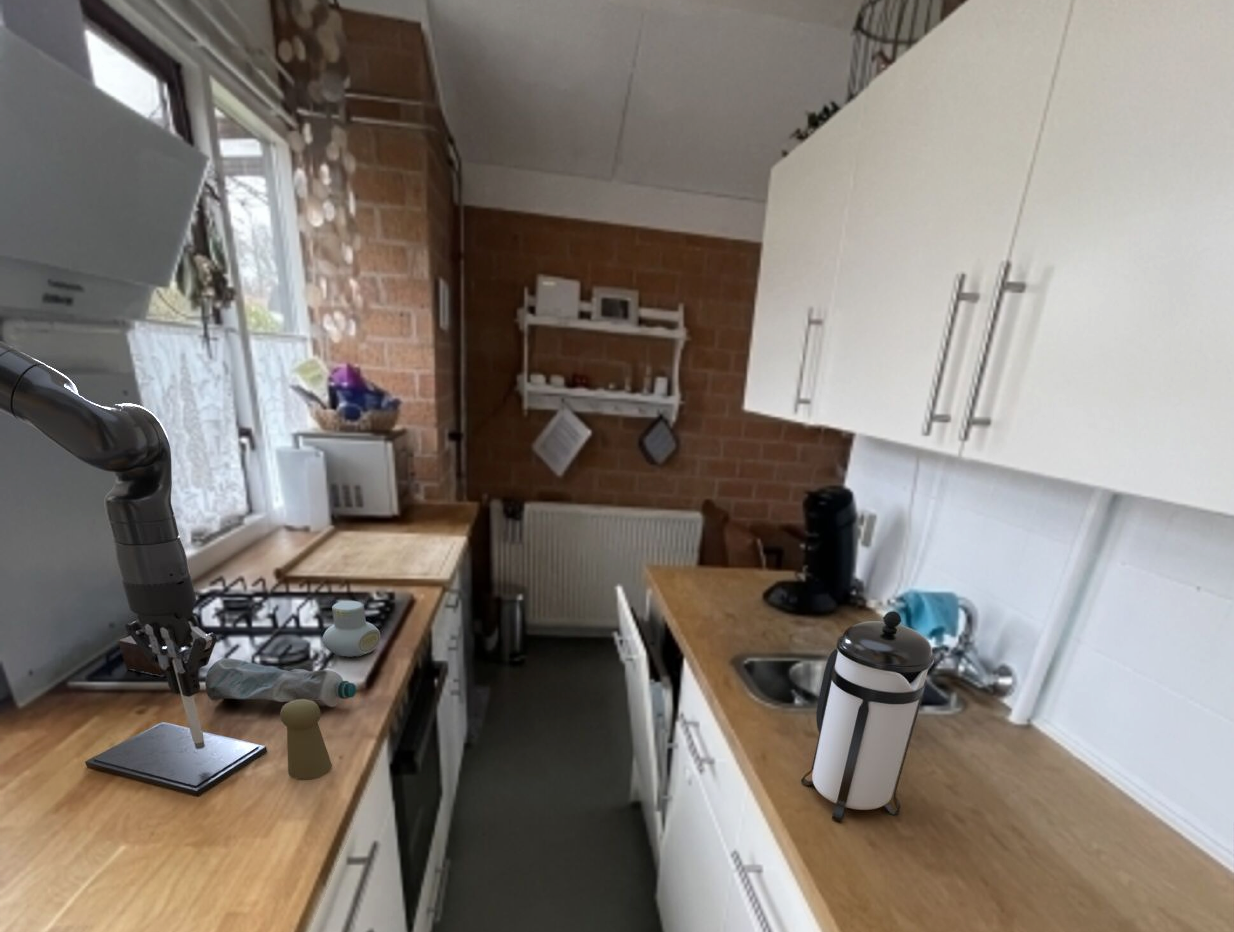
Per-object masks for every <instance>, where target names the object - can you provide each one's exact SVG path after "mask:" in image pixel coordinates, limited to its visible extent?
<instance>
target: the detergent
mask: <svg viewBox="0 0 1234 932" xmlns="http://www.w3.org/2000/svg"><path fill="white" fill-rule="evenodd" d="M204 685H205V691H206V694H207V697H208V698H209V700H211V701H219V700H225V699H228V700H229V699H230V700H245V701H246V700H269V701H274V702H278V703H285V702H286V703H288V702H290V701H293V700H298V699H307V700H311V701H315V700H317V701H319V702H321V703H323V704H324V705H325V706H326V707H329V708H335V707H336V706H337V705H338V704H339V702H340V700H341V699H343V700H346V699H349V698H353V697H355V696H356V693H357V688H356V684H355V683H354V682H350V681H349V680H344V679H343V677H342V676H341V675H340V673H338V672H336V671H334V670H330V669H321V670H315V671H314V670H313V671H311V670H306V669H300V668H293V669H291V670H285V669H281V668H276V667H271V666H267V665H262V664H257V663H255V662H249V661H246V660H242V659H238V658H237V659H236V658H230V657H229V658H227V657H226V658H222V659H219V660H216V661H215V662H214V663H213V664H212V665H211V666H210V668H209V669H208V670H207V672H206V674H205V679H204Z"/></svg>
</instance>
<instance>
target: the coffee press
mask: <svg viewBox="0 0 1234 932" xmlns="http://www.w3.org/2000/svg"><path fill="white" fill-rule="evenodd" d="M882 620H883V621H879V620H872V621H871V620H870V621H869V620H868V621H862V622H858V623H855V624H852V625H850V626H849V627H848V628H846V630H844V632H843V633H842V634H841V635H839V637H838V638H837V640H836V648H835V649H833V650H832V652H831V653H830V654H829V656H828V657H827V659H826V660H827V661H826V664H825V667H824V670H823V676H822V681H821V685H820V689H819V695H818V700H817V705H816V716H815V717H816V718H815V719H816V727H817V731H818V737H817V742H816V745H815V746H816V747H815V751H814V757H813V761H812V765H811V769H810V770H808V772H806V773H805V774H804V775H803V776H802V778H801V781H800V783H801V784H802V785H803V786H805V787H809V786H812V785H813V786H814V787H815V790H816V791H817V792H818V793H819V794H820V795H821V796H822V797H823V798H825V799H826V800H828V801H829V802H831V803H833V804H835V806H834V809H833V811H832V815H831V819H832V820H834V821H837V822H840V823H841V822H842V821H843V819H844V816H845V813H846V811H847V809H852V810H859V811H862V810H863V811H869V810H875V809H878V808H882V807H884V808H885V809H886V811H887V812H888V813H889V814H890V815H892V816H897V815H899V813H900V811H901V808H902V807H901V803H900V802H899V800H898V798H897V791H898V786H899V783H900V780H901V775H902V772H903V768H904V764H905V762H906V758H907V754H908V750H909V746H910V743H911V739H912V736H913V732H914V729H915V725H916V722H917V719H918V715H919V711H920V708H921V704H922V700H923V697H924V692H925V690H926V685H927V679H926V678H927V675H928V672H929V669H930V668H931V667H932V666H933V664H934V662H935V654H934V652H933V649H932V645H931V643H930V642H929V640H928V639H927V637H925V636H924V635H923V634H922V633H920V632H919V631H917V630H915V629H913V628H910V627H909V626H905V625H902V624H901V623H902V617H901V614H900V613H899V612H897V611H895V610H891V611H887V612H886V613H885V614H884V616H883V617H882ZM811 773H812V776H811V780H810V781H809V780H807V779H806V777H808V776H809V775H810V774H811ZM892 799H893V804H894V806H895V808H896V809H893V808H892V806H891V805H890V804H889V802H890V801H891V800H892Z"/></svg>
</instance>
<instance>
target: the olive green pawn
mask: <svg viewBox="0 0 1234 932" xmlns="http://www.w3.org/2000/svg"><path fill="white" fill-rule="evenodd" d="M279 715H280V716H279V717H280V720H281V722H282V724H283V725H284V726H285V727H286V748H287V749H286V750H287V773H288V776H289V777H291V778H293V779H295V780H302V781H304V780H305V781H306V780H307V781H308V780H313V779H317V778H320V777H323V776H324V775H326V774H327V773H329V772H330V771H331V770H332V767H333V764H332V761H331V758H330V755H329V752H328V749H327V745H326V743H325V740H324V737H323V734H322V731H321V728H320V725H319V722H320V719H321V710H320V707H319V705H318V704H317V703H316V702H315V700H307V699H298V700H293V701H290V702H286V703H285V704H284V705H282V707H281V709H280V714H279Z"/></svg>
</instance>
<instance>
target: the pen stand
mask: <svg viewBox="0 0 1234 932" xmlns="http://www.w3.org/2000/svg"><path fill="white" fill-rule="evenodd" d="M117 642H118V645H119V649H120V652H121V655H122V659H123V662H124V665H125V669H126V670H127V669H135V670H136V669H137V670H140V671H144V672H149V673H152V674H158V675H162V674H164V673H165V670H163V669H162V668H161V667H160V665H159V664H158V663H157V662H155V663H151V662H150V661H149V660H148V658H147V657H146V656H145V654H144V653H143V652H142V650H141V649H140V648H139V646H138V645H137V643H136V642H135V641H134V639H133V638H132V637H131V635H129V636H126V637H124V638H121V639H118V640H117ZM149 647H150V648H151V649H152V647H151V644H150V645H149ZM184 661H185V662H187V661H188V660H187V656H184Z"/></svg>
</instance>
